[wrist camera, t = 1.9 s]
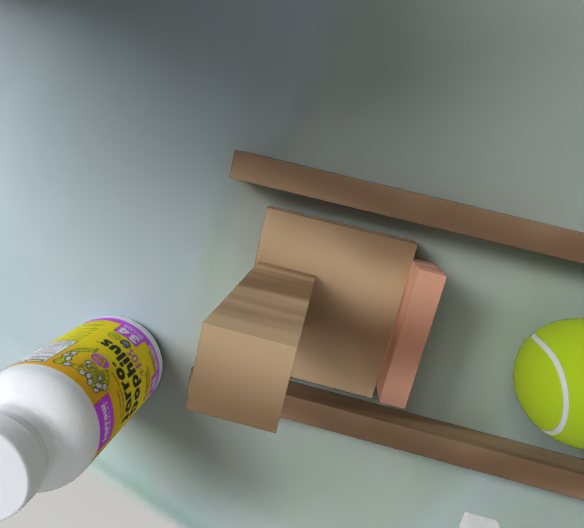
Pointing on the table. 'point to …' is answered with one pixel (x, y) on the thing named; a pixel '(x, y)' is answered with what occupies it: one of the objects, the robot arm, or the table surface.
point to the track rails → (391, 422)
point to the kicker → (316, 320)
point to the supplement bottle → (70, 404)
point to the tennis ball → (554, 380)
